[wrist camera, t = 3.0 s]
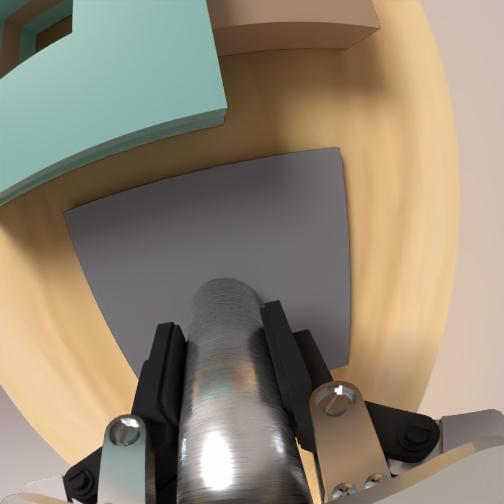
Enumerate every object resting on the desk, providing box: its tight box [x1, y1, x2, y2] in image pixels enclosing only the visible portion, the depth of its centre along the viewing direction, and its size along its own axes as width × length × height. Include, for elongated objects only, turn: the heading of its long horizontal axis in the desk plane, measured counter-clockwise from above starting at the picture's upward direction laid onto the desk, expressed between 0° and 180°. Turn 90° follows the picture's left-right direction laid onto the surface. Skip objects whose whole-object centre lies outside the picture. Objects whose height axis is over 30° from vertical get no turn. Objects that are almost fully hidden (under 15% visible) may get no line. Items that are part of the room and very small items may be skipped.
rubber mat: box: [63, 147, 350, 379], centre depth 13 cm, size 12×12×1 cm
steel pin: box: [177, 278, 314, 504], centre depth 8 cm, size 3×3×10 cm
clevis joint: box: [0, 0, 380, 206], centre depth 5 cm, size 22×12×4 cm, turn 101°
